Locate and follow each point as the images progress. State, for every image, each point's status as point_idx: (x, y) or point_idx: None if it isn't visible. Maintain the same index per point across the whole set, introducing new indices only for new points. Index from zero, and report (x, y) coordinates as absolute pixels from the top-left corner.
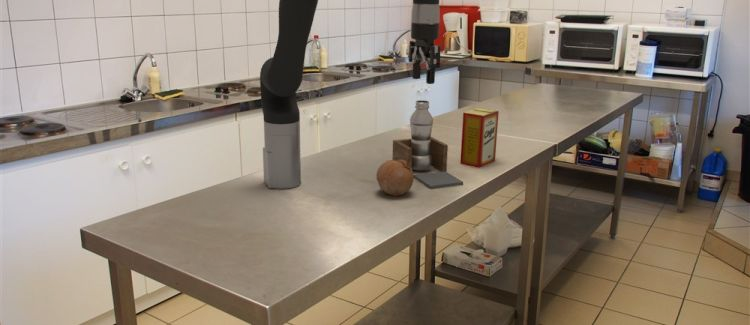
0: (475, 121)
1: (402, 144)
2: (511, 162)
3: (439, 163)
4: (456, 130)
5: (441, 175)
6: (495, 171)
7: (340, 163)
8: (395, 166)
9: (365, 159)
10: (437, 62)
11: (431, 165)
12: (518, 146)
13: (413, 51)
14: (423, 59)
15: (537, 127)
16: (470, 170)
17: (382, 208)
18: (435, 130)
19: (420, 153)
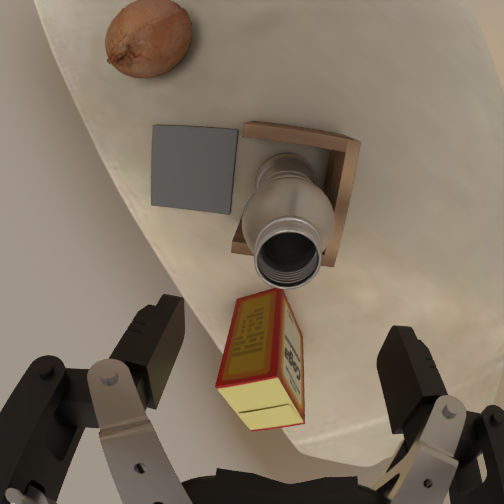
0: (239, 368)
1: (299, 136)
2: None
3: None
4: None
5: (206, 188)
6: (205, 308)
7: (421, 48)
8: (114, 24)
9: (424, 116)
10: (58, 432)
11: None
12: (312, 412)
13: (485, 499)
14: (138, 450)
15: (364, 458)
16: (230, 274)
17: (109, 3)
18: (468, 363)
19: (263, 175)
